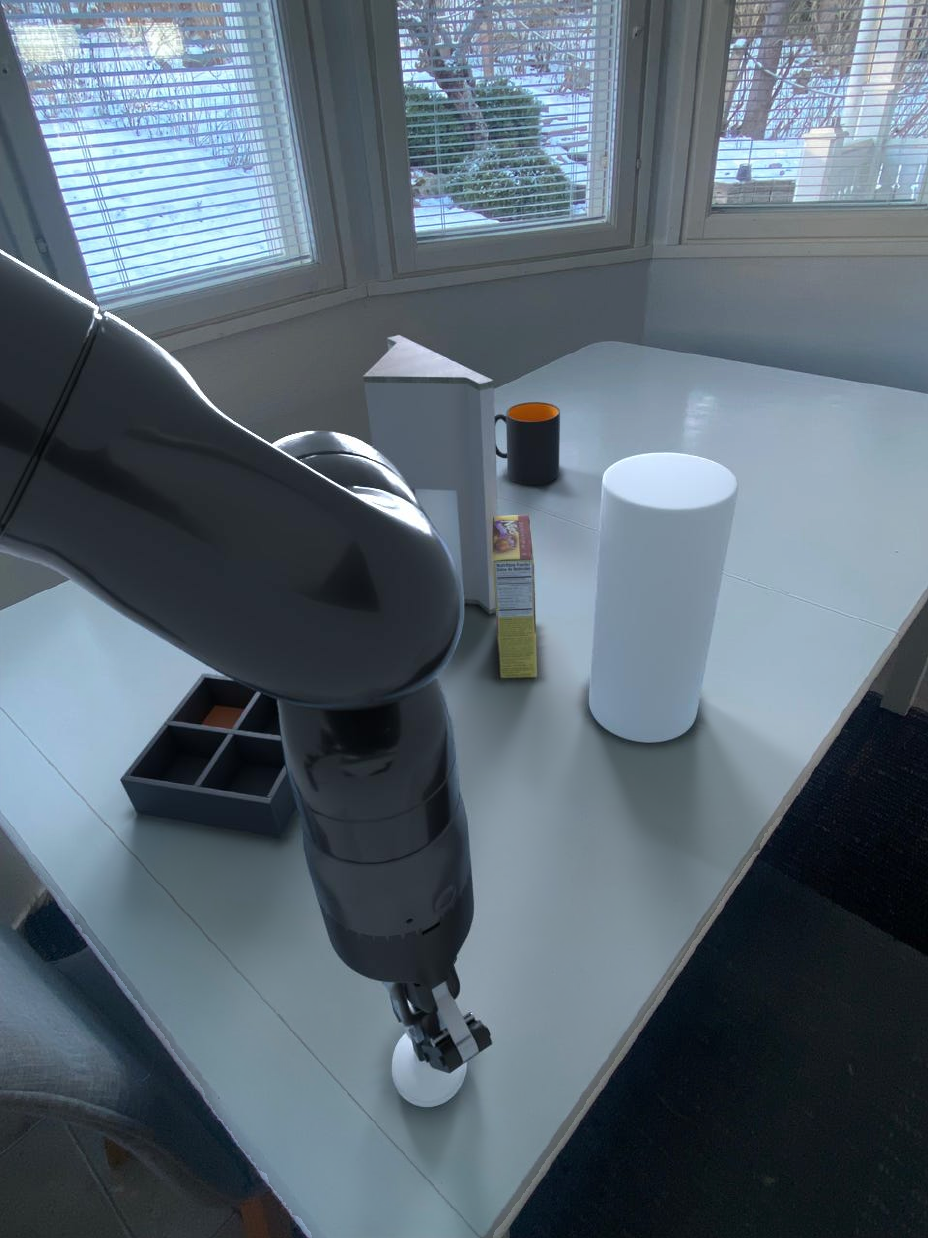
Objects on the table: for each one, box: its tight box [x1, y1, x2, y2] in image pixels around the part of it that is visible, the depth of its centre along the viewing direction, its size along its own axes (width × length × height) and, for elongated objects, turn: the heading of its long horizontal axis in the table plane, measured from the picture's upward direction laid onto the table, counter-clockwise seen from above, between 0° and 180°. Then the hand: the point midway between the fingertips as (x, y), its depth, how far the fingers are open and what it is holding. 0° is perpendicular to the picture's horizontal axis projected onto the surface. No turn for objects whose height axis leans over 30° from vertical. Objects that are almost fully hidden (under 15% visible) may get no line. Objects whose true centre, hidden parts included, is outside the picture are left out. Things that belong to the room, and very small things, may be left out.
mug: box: [495, 401, 561, 486], centre depth 116 cm, size 8×12×10 cm
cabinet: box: [362, 334, 499, 615], centre depth 86 cm, size 21×10×28 cm, turn 31°
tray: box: [119, 672, 297, 839], centre depth 69 cm, size 14×14×5 cm
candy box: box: [492, 514, 538, 679], centre depth 77 cm, size 9×4×15 cm, turn 178°
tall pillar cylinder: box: [588, 452, 739, 744], centre depth 67 cm, size 11×11×25 cm
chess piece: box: [391, 1026, 468, 1108], centre depth 45 cm, size 5×5×10 cm
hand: (422, 1028), depth 45 cm, fingers closed on chess piece
